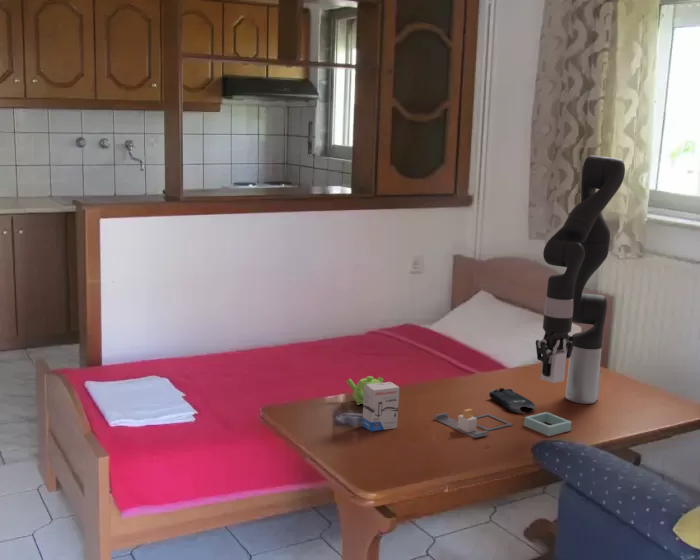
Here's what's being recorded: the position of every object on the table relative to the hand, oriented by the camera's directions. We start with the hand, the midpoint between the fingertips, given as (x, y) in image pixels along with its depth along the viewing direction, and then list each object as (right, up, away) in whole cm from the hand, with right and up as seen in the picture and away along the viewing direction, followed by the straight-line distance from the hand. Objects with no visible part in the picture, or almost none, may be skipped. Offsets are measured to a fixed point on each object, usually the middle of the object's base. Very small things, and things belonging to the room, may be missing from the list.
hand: (552, 374), depth 222 cm
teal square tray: (-1, -15, +3) cm, 16 cm away
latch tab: (-24, -15, -2) cm, 28 cm away
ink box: (-47, -14, -2) cm, 50 cm away
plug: (0, -2, 0) cm, 2 cm away
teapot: (-51, -11, +16) cm, 54 cm away
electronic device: (-7, -12, +20) cm, 25 cm away
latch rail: (-25, -15, 0) cm, 29 cm away
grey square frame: (-17, -14, +5) cm, 23 cm away
